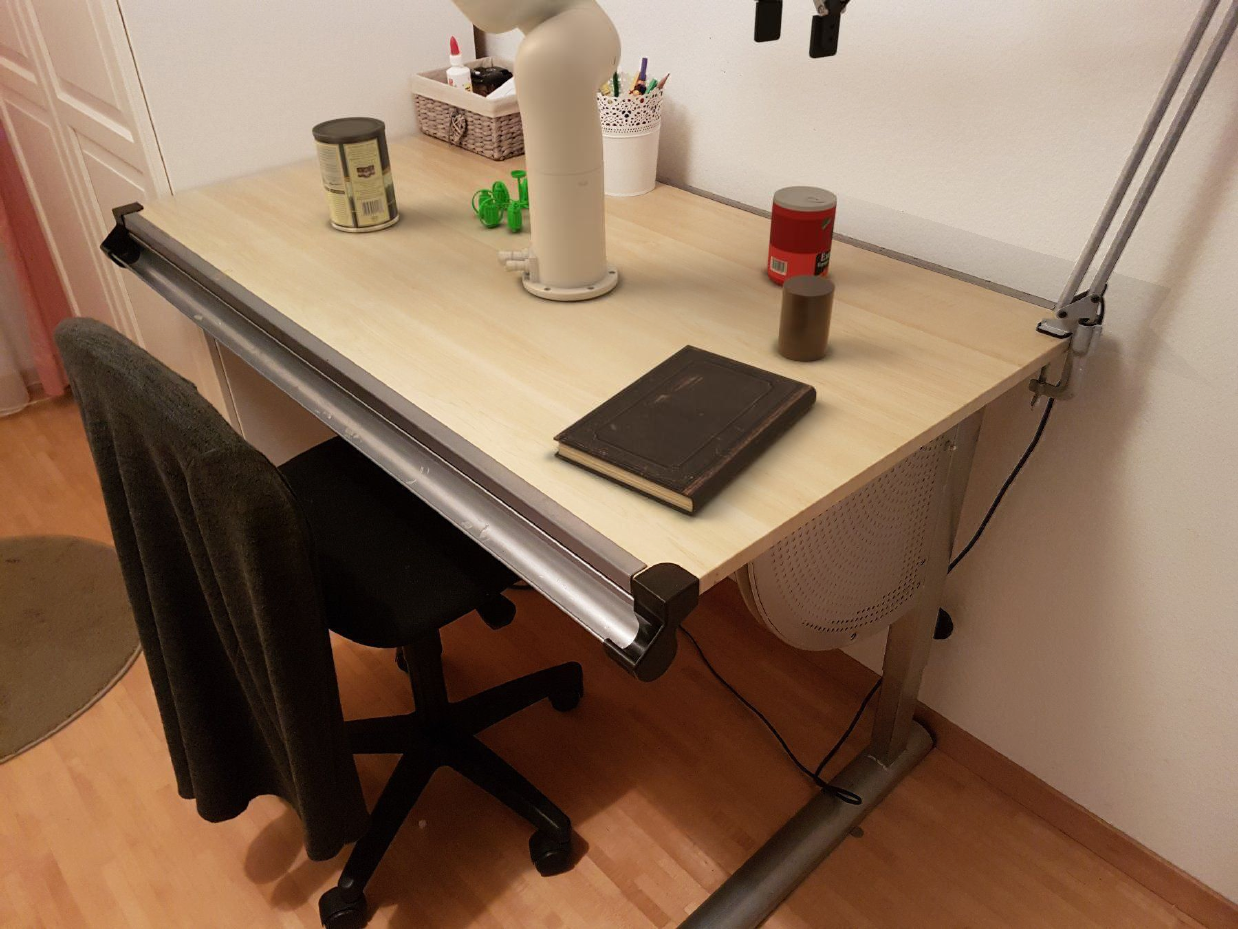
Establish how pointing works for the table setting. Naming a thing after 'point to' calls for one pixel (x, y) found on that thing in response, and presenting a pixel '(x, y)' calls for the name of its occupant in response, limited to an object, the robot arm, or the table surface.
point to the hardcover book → (685, 427)
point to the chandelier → (503, 203)
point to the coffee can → (356, 173)
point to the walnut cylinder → (805, 317)
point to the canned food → (801, 232)
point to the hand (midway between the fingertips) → (793, 48)
